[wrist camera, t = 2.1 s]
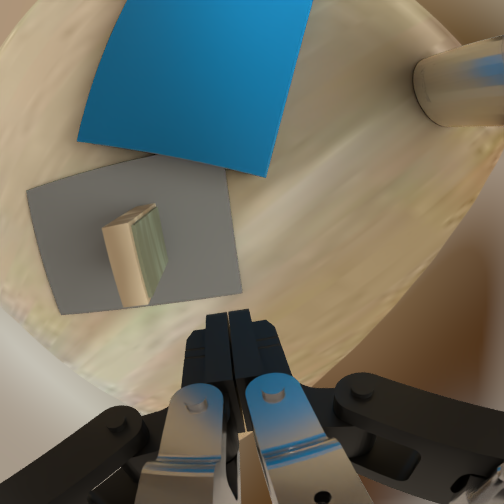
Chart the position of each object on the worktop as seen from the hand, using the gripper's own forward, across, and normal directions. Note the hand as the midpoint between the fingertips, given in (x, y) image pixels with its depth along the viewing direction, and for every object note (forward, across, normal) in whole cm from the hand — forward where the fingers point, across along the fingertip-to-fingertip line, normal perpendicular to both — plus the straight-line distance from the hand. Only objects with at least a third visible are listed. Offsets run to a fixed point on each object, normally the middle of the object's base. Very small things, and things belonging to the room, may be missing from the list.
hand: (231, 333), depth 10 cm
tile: (+19, +7, 0) cm, 20 cm away
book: (+19, -1, -18) cm, 27 cm away
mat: (+19, +10, 0) cm, 22 cm away
